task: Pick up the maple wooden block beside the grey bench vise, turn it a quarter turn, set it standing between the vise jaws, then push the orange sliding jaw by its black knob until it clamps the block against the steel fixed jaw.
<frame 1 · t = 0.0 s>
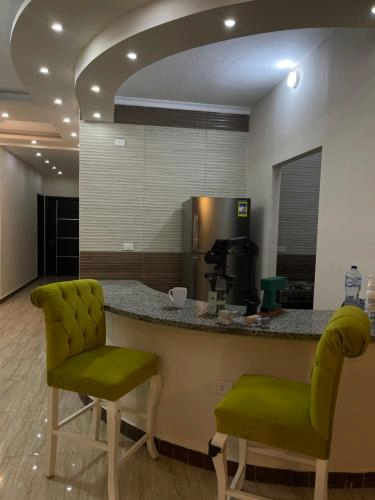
hand: (220, 293, 187), 15 cm above the countertop, tool pointing down, fingers open, 9 cm apart
power tool: (275, 310, 222), on the countertop
mug: (176, 307, 222), on the countertop
sliding jaw: (258, 319, 184), point 3 cm above the countertop, slide at 0.0 cm
maple block: (225, 322, 187), on the countertop
vise base: (243, 321, 191), on the countertop
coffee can: (216, 313, 210), on the countertop
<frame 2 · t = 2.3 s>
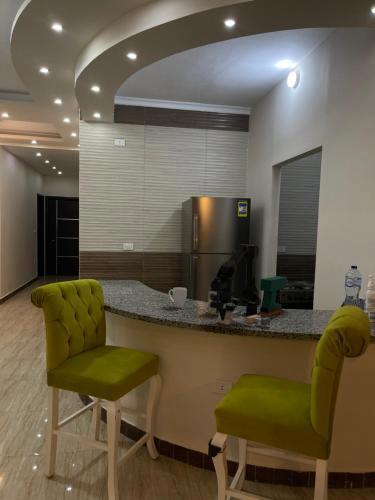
hand: (225, 319, 187), 2 cm above the countertop, tool pointing down, fingers closed on maple block, 4 cm apart
maple block: (225, 322, 187), on the countertop, touching gripper
everything else where it was.
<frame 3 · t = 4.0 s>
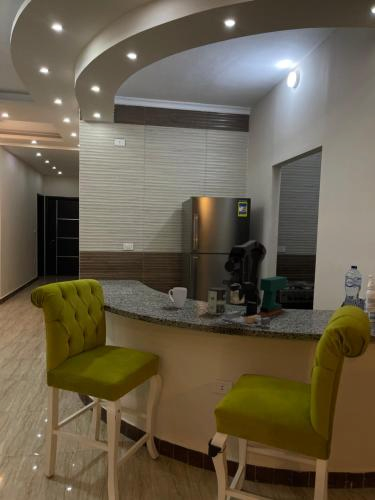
hand: (237, 299, 192), 11 cm above the countertop, tool pointing down, fingers closed on maple block, 4 cm apart
maple block: (237, 302, 192), point 10 cm above the countertop, touching gripper
everything else where it was.
when the fingers open (4 cm above the countertop, at t = 5.8 s): maple block drops 2 cm, resting on vise base.
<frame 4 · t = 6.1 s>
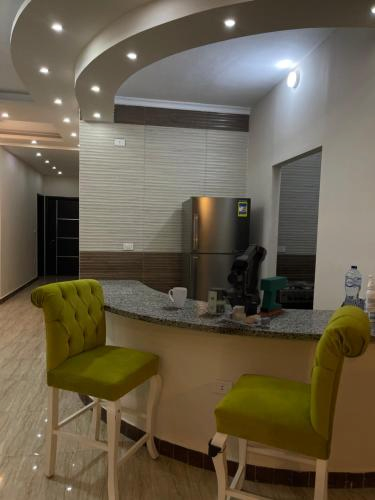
hand: (239, 311, 193), 4 cm above the countertop, tool pointing down, fingers open, 8 cm apart
maple block: (238, 318, 193), point 1 cm above the countertop, touching vise base
everything else where it was.
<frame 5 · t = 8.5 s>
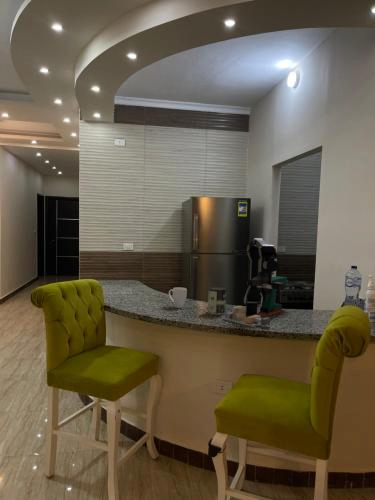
hand: (265, 301, 181), 13 cm above the countertop, tool pointing down, fingers closed
nothing on the countertop moved.
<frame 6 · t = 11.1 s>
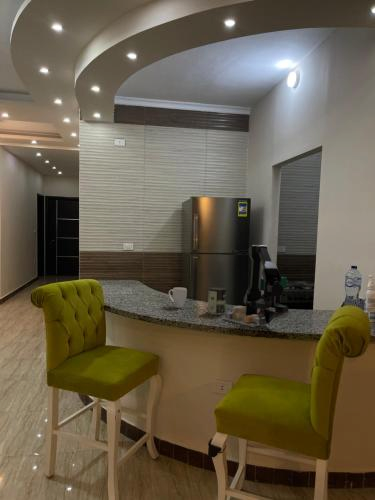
hand: (268, 323, 181), 2 cm above the countertop, tool pointing down, fingers closed
sliding jaw: (256, 319, 185), point 3 cm above the countertop, slide at 1.2 cm, touching gripper
everything else where it was.
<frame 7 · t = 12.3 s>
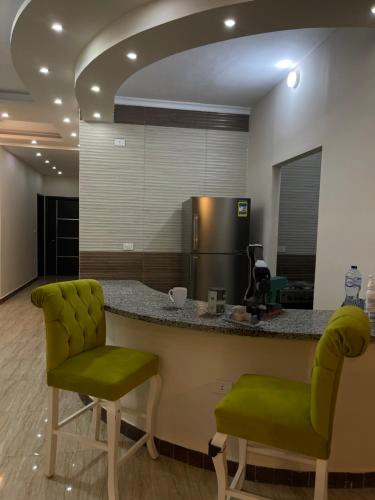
hand: (259, 321, 184), 2 cm above the countertop, tool pointing down, fingers closed
sliding jaw: (249, 317, 189), point 3 cm above the countertop, slide at 6.0 cm, touching gripper, maple block
maple block: (238, 318, 194), point 1 cm above the countertop, touching sliding jaw, vise base
everything else where it was.
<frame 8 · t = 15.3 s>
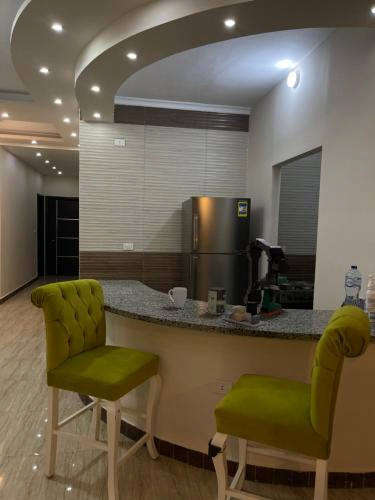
hand: (271, 302, 183), 12 cm above the countertop, tool pointing down, fingers closed
sliding jaw: (249, 317, 189), point 3 cm above the countertop, slide at 6.0 cm, touching maple block
everything else where it was.
at the end: sliding jaw slide at 6.0 cm; maple block 0.1 cm from the target spot on the vise base, point 1.0 cm above the vise base's base; maple block tilted 0° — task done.
